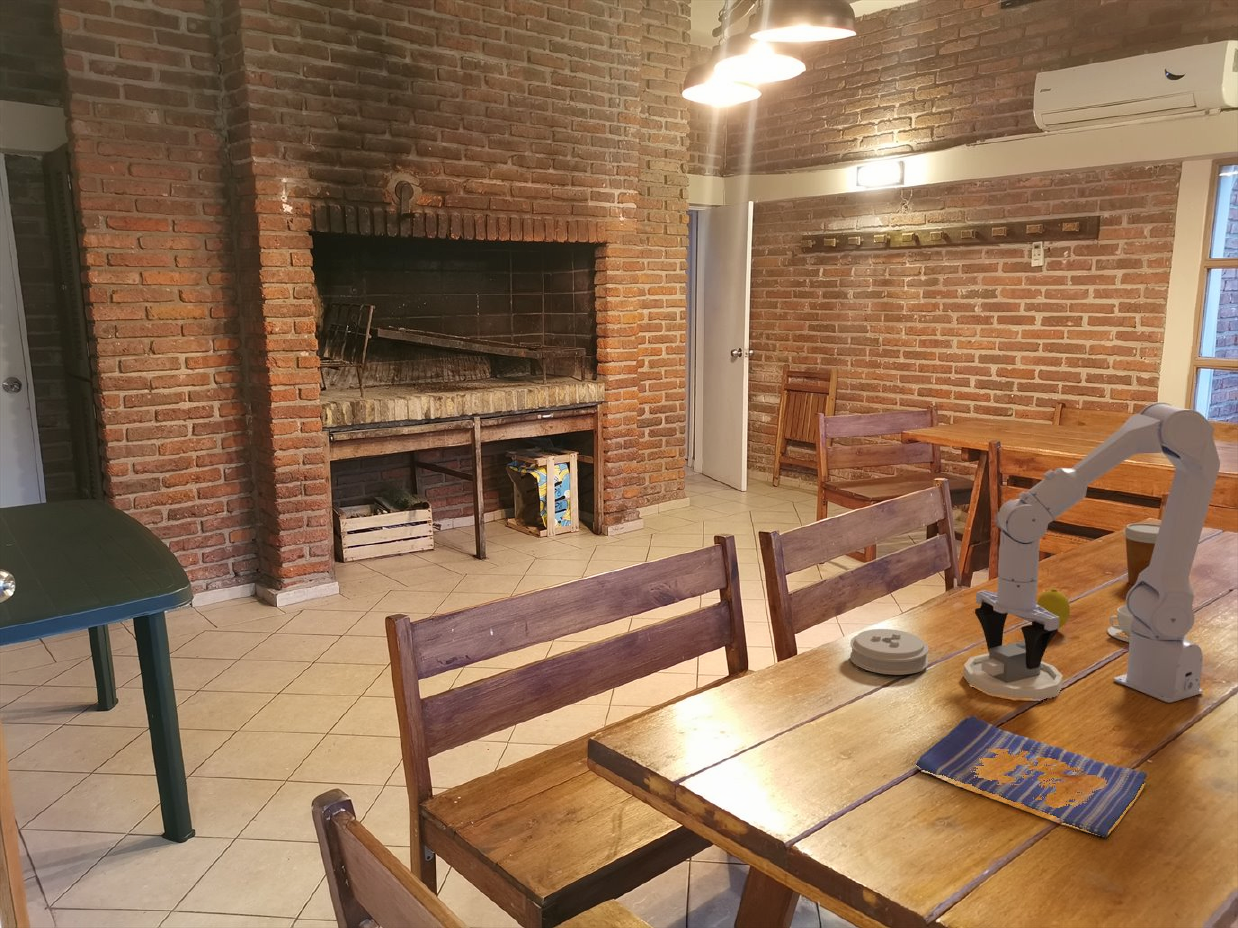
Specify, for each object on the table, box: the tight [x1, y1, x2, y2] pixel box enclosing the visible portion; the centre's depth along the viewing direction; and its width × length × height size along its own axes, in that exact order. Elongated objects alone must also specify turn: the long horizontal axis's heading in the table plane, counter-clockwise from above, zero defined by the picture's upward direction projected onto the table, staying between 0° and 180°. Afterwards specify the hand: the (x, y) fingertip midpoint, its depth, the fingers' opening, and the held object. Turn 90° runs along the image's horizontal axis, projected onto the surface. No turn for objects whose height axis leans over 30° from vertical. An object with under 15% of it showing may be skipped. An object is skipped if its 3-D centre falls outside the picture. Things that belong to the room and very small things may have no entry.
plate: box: [963, 652, 1064, 699], centre depth 146 cm, size 14×14×2 cm
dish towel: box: [915, 715, 1148, 838], centre depth 118 cm, size 17×24×3 cm
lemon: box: [1036, 588, 1071, 628], centre depth 167 cm, size 6×6×8 cm
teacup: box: [1107, 605, 1133, 643], centre depth 163 cm, size 10×10×5 cm
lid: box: [849, 628, 930, 676], centre depth 154 cm, size 13×13×5 cm
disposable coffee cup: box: [1122, 522, 1161, 586], centre depth 191 cm, size 10×10×12 cm
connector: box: [981, 640, 1041, 683], centre depth 145 cm, size 4×10×4 cm, turn 114°
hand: (1013, 659), depth 145 cm, fingers open, 7 cm apart
